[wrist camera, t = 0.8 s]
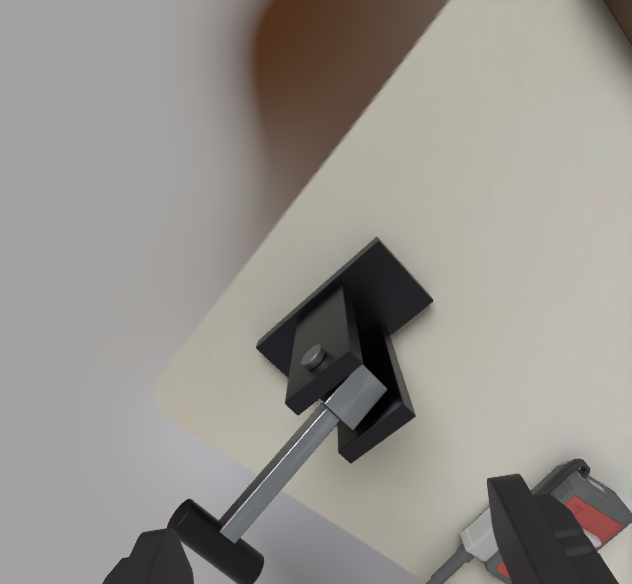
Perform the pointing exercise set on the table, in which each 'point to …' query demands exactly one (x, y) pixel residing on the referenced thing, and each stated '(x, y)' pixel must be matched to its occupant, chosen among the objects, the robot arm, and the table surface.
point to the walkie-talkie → (567, 487)
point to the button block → (622, 14)
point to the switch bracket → (350, 342)
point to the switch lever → (272, 482)
